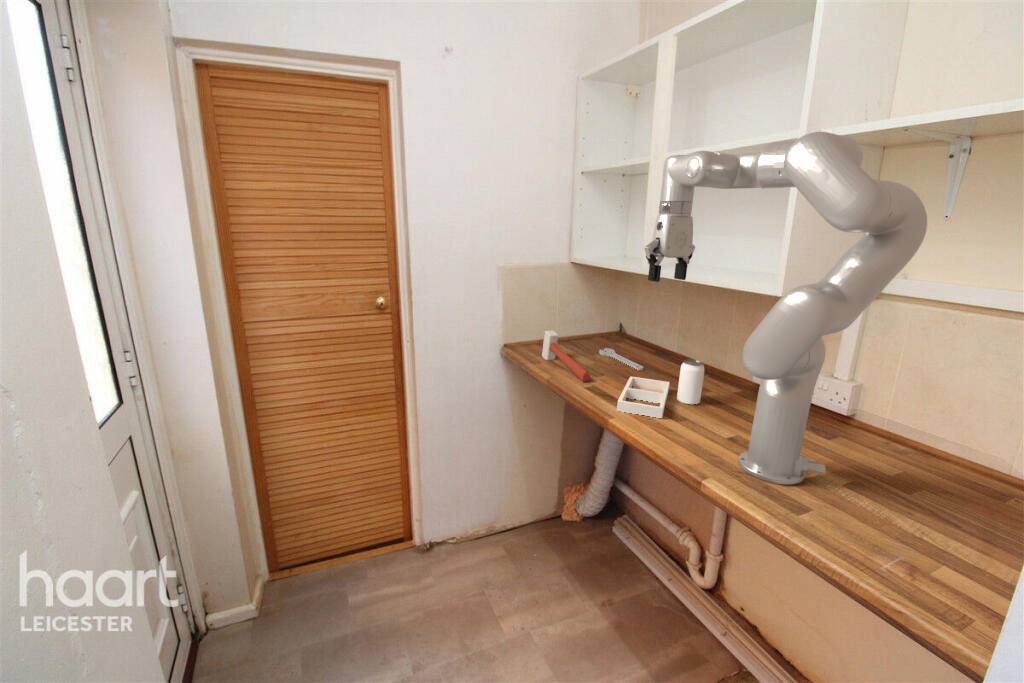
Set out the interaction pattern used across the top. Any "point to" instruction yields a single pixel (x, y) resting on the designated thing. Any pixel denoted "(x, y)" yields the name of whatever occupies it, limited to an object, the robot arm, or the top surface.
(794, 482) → the robot arm
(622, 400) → the caddy
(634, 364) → the adjustable wrench
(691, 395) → the can
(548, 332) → the mallet
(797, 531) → the top surface
